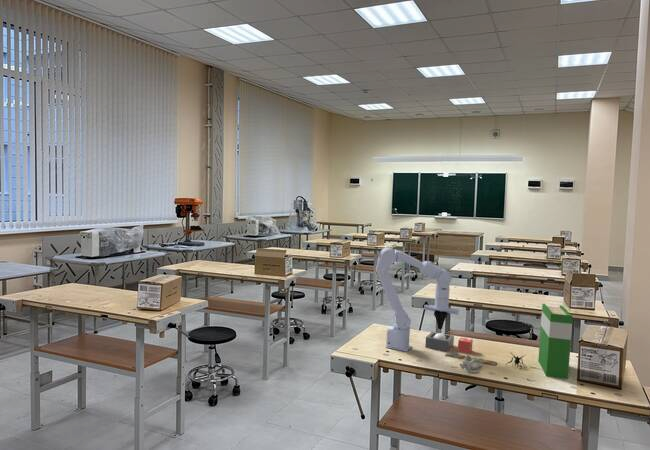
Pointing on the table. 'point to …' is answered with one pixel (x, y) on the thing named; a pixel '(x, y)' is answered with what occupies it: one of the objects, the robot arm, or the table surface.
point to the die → (465, 345)
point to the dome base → (439, 342)
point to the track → (470, 358)
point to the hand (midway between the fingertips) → (440, 328)
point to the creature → (516, 360)
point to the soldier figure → (470, 365)
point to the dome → (440, 336)
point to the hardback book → (555, 341)
